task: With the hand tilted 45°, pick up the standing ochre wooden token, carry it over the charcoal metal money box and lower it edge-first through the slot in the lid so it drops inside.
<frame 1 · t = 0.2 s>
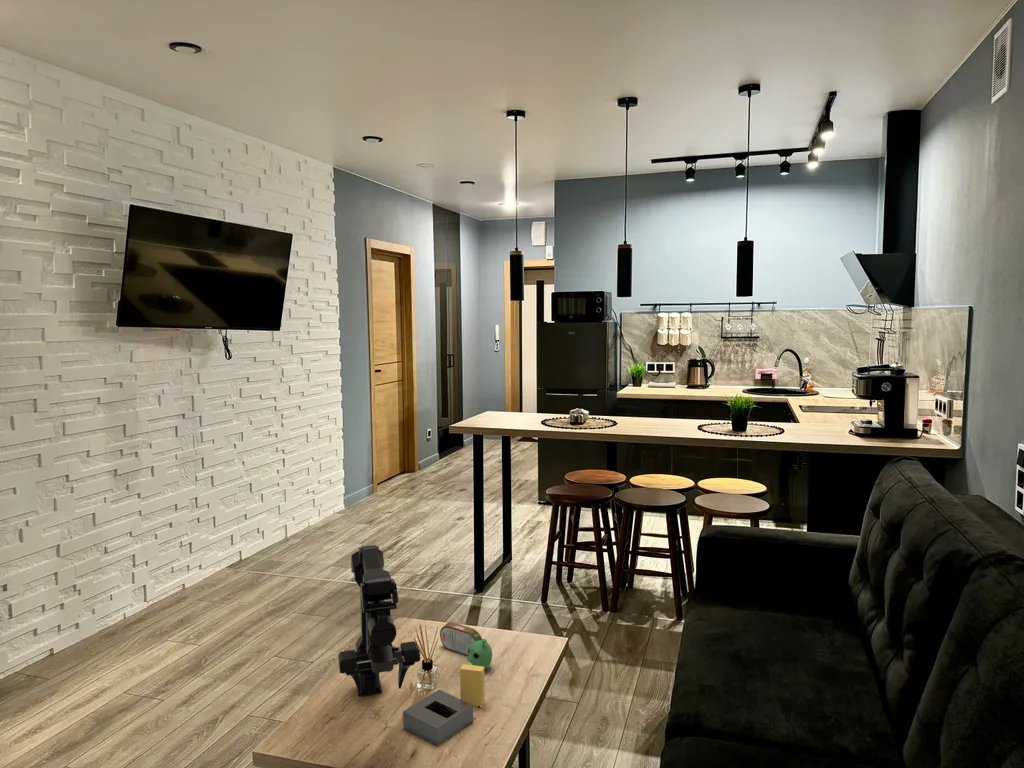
hand: (380, 691, 167), 15 cm above the table, tool pointing down, fingers open, 9 cm apart
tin: (460, 652, 217), on the table
alien toy: (479, 670, 206), on the table
money box: (438, 724, 178), on the table
token: (472, 703, 188), on the table
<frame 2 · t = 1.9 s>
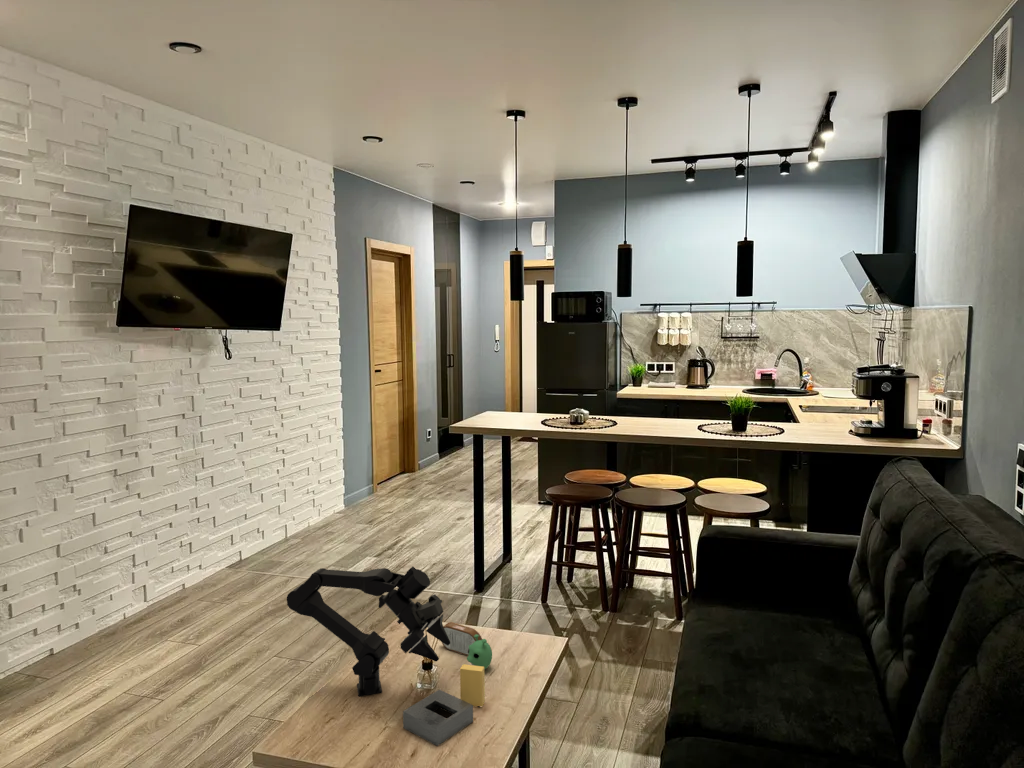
hand: (443, 652, 189), 13 cm above the table, tool tilted 45°, fingers open, 9 cm apart
nothing on the table moved.
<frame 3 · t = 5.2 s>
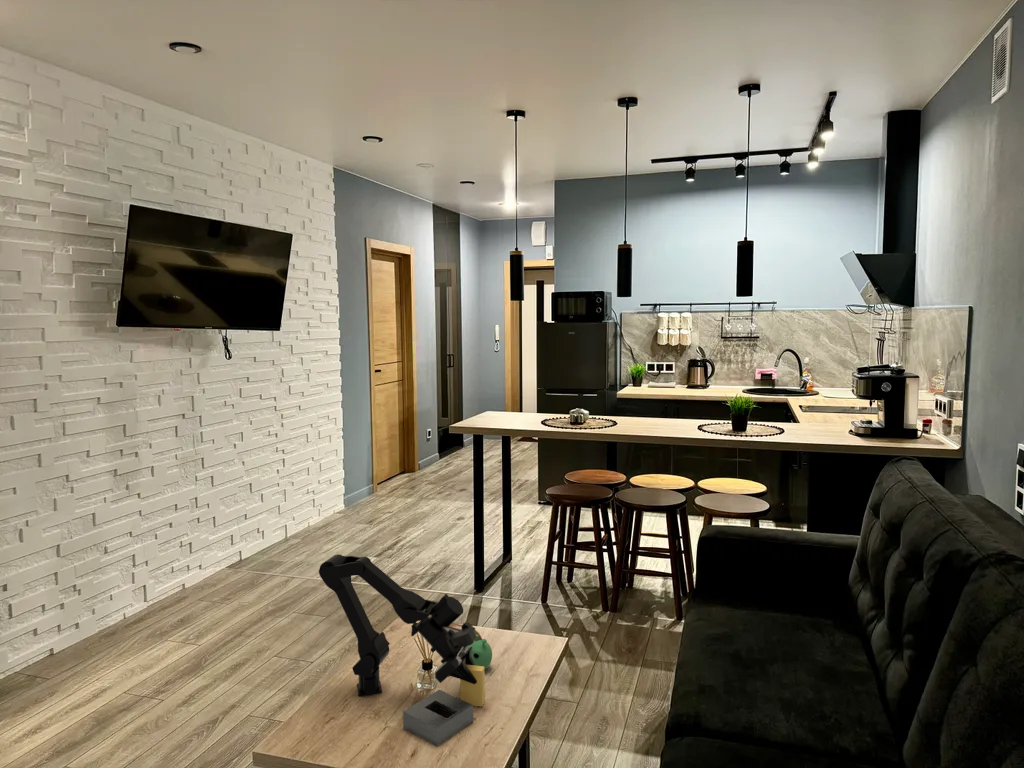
hand: (477, 680, 187), 7 cm above the table, tool tilted 45°, fingers closed on token, 2 cm apart
token: (472, 703, 188), on the table, touching gripper
everything else where it was.
when the fingers open (10 cm above the table, at t = 9.8 s): token drops 3 cm, resting in money box.
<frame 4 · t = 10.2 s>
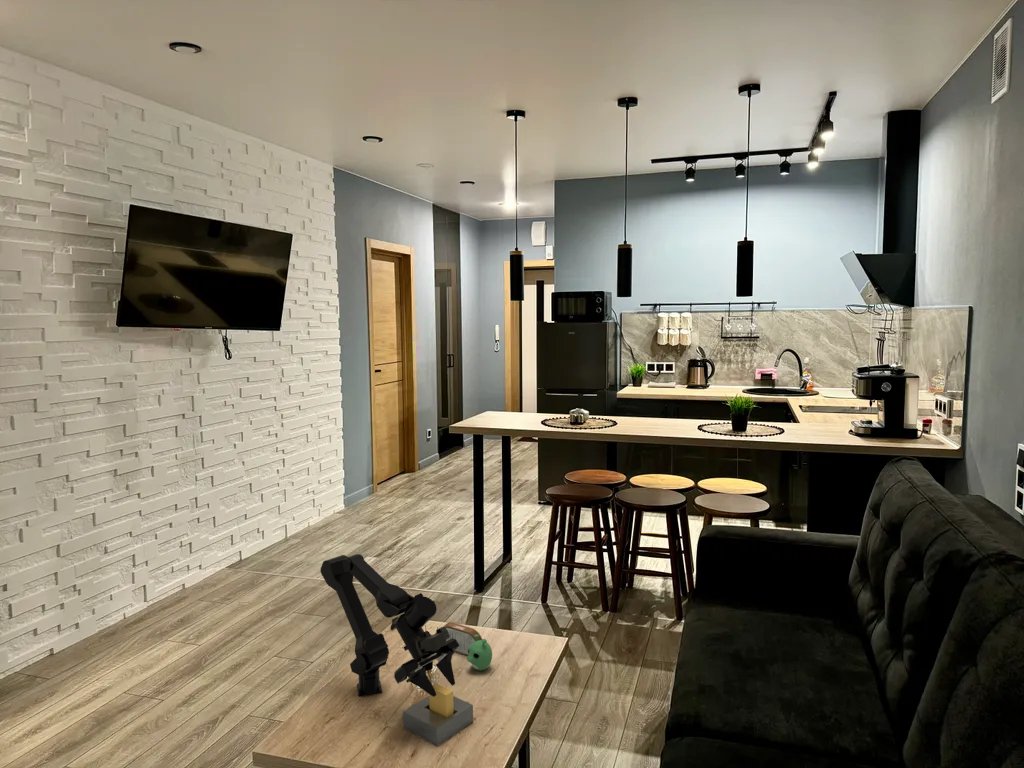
hand: (444, 690, 176), 10 cm above the table, tool tilted 45°, fingers open, 6 cm apart
token: (441, 726, 178), resting in money box
everything else where it was.
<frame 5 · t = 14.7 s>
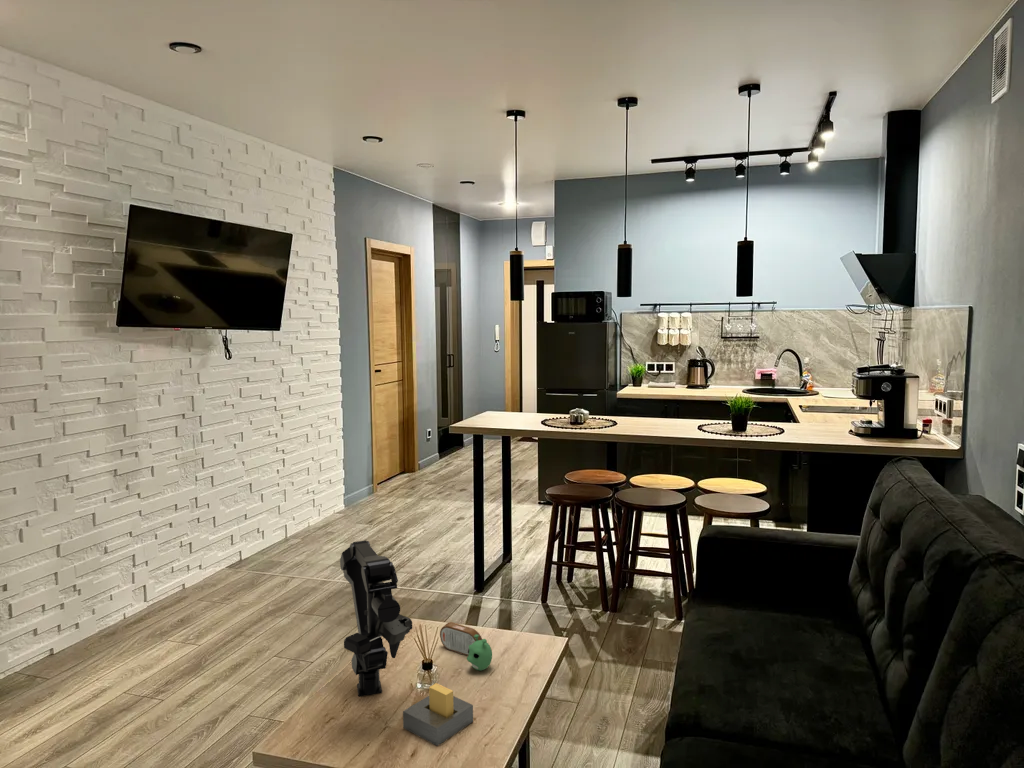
hand: (380, 664, 183), 13 cm above the table, tool pointing down, fingers open, 9 cm apart
nothing on the table moved.
at the end: token 1.1 cm from the money box (horizontally); token resting in money box; the gripper is holding nothing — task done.
